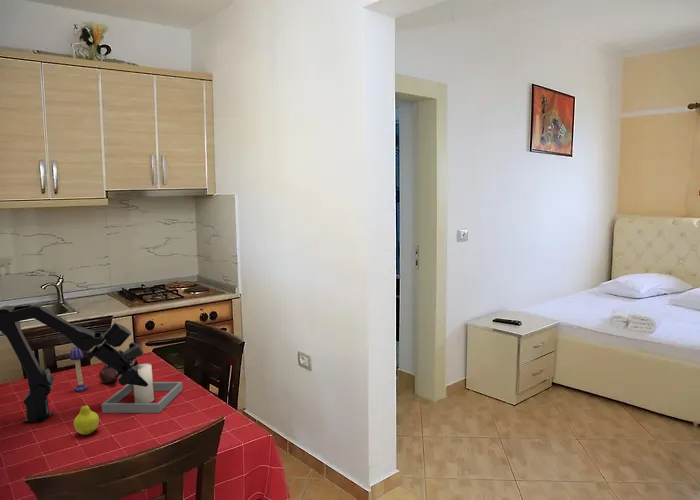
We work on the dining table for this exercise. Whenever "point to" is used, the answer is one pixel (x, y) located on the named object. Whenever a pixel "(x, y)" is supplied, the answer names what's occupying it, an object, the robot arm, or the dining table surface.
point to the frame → (115, 407)
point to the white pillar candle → (142, 392)
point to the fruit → (86, 420)
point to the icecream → (108, 375)
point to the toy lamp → (78, 368)
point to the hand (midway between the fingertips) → (147, 382)
